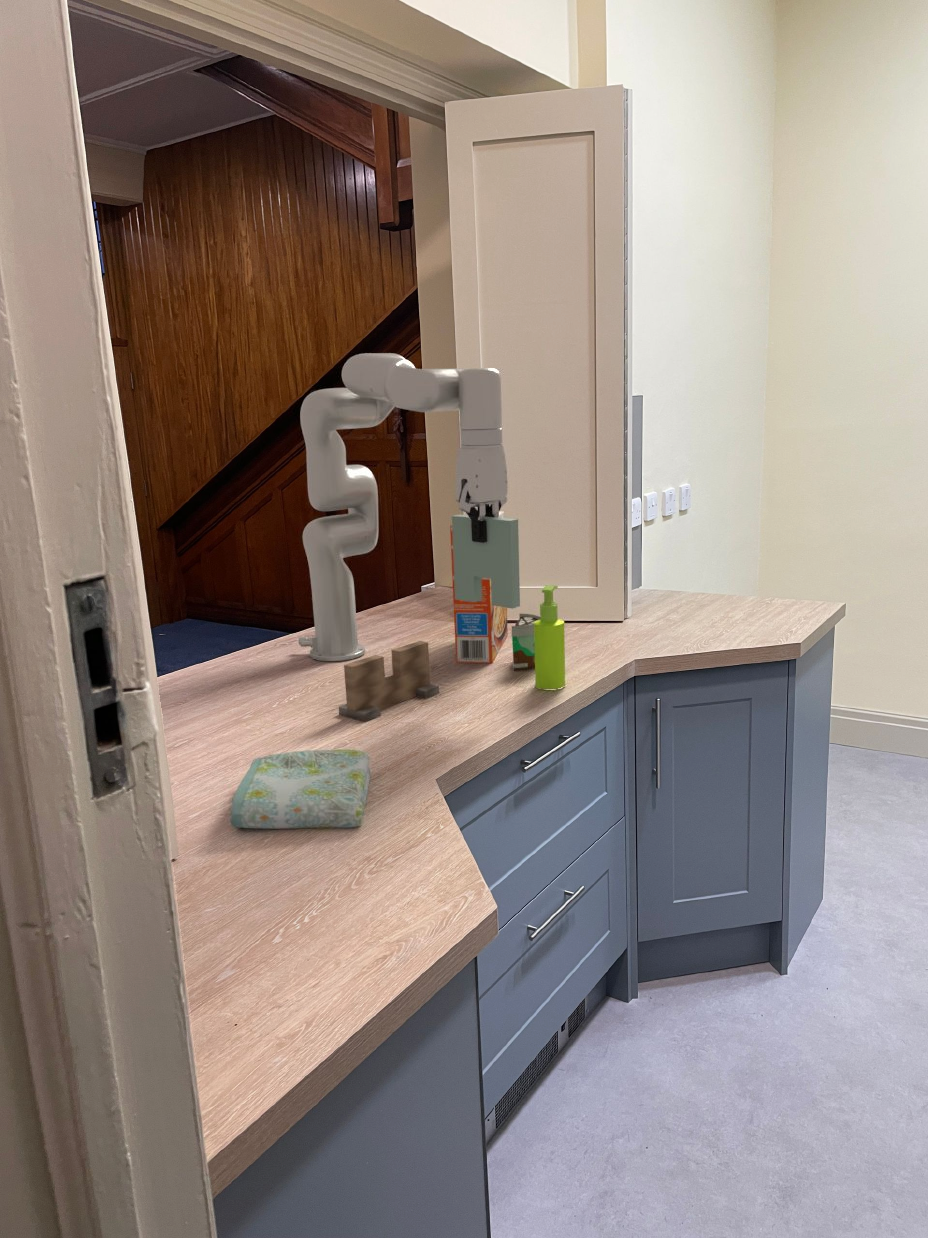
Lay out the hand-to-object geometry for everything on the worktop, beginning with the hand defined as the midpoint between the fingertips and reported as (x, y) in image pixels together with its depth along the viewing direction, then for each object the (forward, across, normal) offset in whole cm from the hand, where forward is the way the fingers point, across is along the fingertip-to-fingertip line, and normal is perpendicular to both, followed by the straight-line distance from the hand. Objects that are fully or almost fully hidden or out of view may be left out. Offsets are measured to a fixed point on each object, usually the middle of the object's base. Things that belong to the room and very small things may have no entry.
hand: (484, 540), depth 173 cm
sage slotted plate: (+12, 0, 0) cm, 12 cm away
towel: (+31, +51, +8) cm, 61 cm away
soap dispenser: (+31, -14, +5) cm, 34 cm away
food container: (+31, -22, -7) cm, 39 cm away
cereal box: (+31, -27, -24) cm, 48 cm away
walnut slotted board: (+31, +13, -14) cm, 36 cm away
